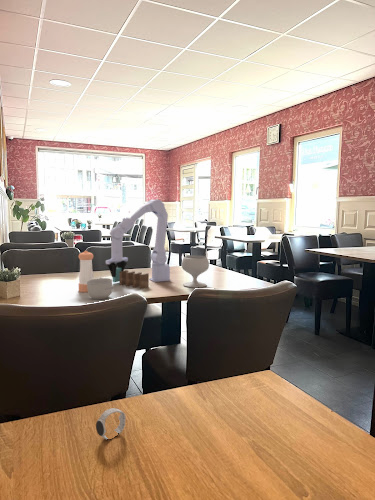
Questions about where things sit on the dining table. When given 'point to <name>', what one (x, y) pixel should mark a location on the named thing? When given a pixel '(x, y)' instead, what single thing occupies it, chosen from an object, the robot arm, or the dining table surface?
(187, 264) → the chalice
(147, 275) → the domino
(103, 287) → the teacup
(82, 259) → the salt shaker
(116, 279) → the domino
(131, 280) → the brown wooden block
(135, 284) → the domino
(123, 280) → the domino
